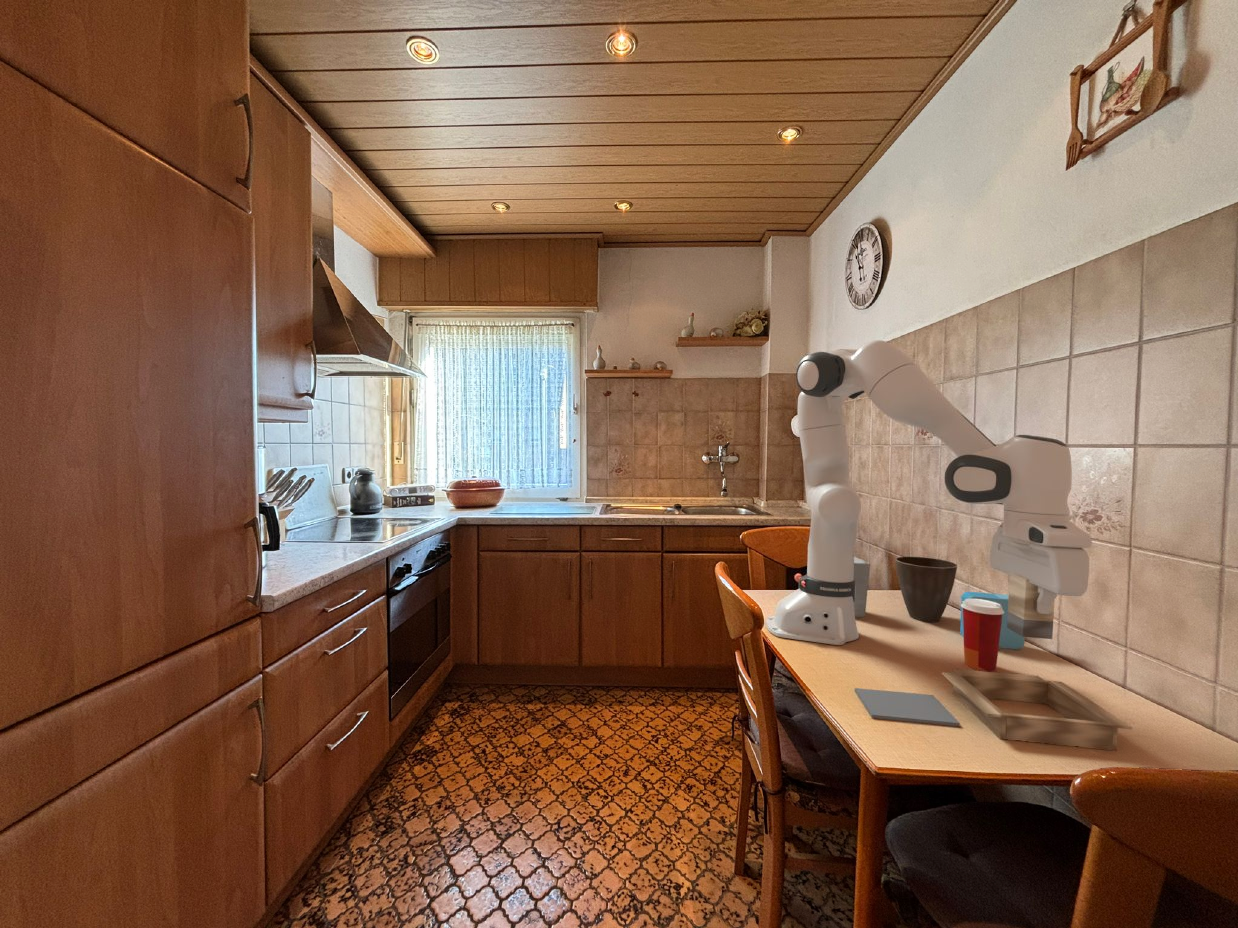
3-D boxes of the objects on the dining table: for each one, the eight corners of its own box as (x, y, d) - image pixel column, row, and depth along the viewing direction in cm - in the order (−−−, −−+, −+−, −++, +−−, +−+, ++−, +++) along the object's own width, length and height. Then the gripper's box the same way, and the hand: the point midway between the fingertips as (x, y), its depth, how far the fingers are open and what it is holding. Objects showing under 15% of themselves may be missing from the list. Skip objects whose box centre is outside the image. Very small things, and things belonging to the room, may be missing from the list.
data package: (1016, 643, 124) (1017, 595, 123) (1024, 650, 120) (1026, 600, 119) (959, 637, 127) (961, 590, 127) (965, 643, 123) (967, 595, 123)
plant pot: (883, 615, 144) (885, 559, 144) (908, 606, 153) (909, 554, 153) (941, 630, 132) (943, 570, 132) (964, 620, 141) (966, 563, 140)
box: (1022, 636, 86) (1026, 578, 86) (1006, 627, 91) (1010, 572, 90) (1052, 639, 85) (1055, 580, 85) (1034, 629, 90) (1038, 574, 90)
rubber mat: (871, 717, 88) (872, 714, 88) (854, 690, 98) (854, 687, 97) (959, 726, 85) (959, 722, 85) (932, 697, 95) (933, 694, 95)
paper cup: (1004, 666, 110) (1006, 603, 110) (999, 677, 105) (1002, 610, 104) (961, 655, 116) (963, 595, 115) (955, 665, 110) (957, 602, 110)
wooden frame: (987, 738, 82) (988, 714, 82) (936, 687, 100) (937, 667, 99) (1132, 752, 79) (1134, 727, 78) (1053, 697, 96) (1054, 677, 96)
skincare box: (829, 608, 150) (831, 555, 149) (852, 607, 150) (854, 555, 150) (844, 617, 141) (846, 561, 141) (869, 617, 142) (871, 561, 141)
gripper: (981, 519, 98) (977, 589, 99) (1054, 537, 78) (1049, 625, 78) (1017, 521, 97) (1013, 591, 98) (1100, 539, 77) (1095, 628, 77)
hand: (1030, 607), depth 88 cm, fingers closed on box, 4 cm apart
